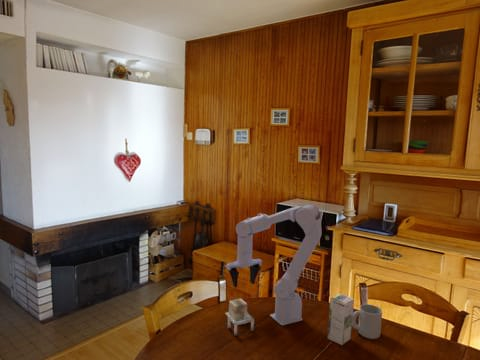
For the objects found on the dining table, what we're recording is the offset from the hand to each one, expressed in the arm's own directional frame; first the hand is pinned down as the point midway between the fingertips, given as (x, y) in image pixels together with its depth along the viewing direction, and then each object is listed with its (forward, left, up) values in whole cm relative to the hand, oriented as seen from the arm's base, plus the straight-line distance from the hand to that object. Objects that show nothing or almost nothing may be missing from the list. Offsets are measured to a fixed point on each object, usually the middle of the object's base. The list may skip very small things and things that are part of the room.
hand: (243, 284), depth 137 cm
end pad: (+5, +5, -9) cm, 12 cm away
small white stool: (+8, +14, -9) cm, 18 cm away
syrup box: (-19, +33, -10) cm, 39 cm away
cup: (-30, +34, -10) cm, 46 cm away
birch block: (+5, +5, -9) cm, 11 cm away
